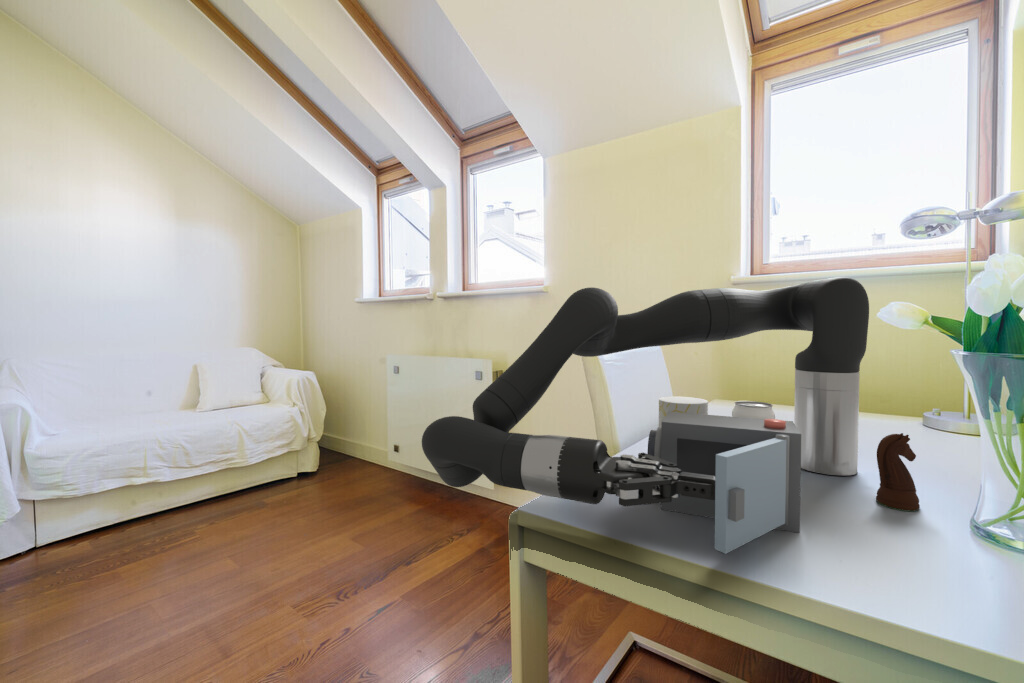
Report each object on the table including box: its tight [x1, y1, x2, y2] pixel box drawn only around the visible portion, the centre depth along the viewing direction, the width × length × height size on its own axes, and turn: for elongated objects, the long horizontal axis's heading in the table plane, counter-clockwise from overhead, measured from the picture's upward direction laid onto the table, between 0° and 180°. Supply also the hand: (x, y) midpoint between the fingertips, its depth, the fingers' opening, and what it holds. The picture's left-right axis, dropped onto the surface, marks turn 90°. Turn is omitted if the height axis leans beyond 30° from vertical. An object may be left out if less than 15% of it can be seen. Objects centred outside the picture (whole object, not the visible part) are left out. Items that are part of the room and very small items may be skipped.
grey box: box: [647, 412, 802, 534], centre depth 61 cm, size 8×18×13 cm, turn 64°
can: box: [731, 400, 776, 419], centre depth 74 cm, size 6×6×12 cm
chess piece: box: [875, 432, 921, 512], centre depth 61 cm, size 5×5×10 cm
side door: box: [714, 434, 789, 555], centre depth 49 cm, size 2×14×11 cm, turn 124°
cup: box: [658, 395, 709, 427], centre depth 78 cm, size 8×8×12 cm
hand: (717, 488), depth 48 cm, fingers closed
